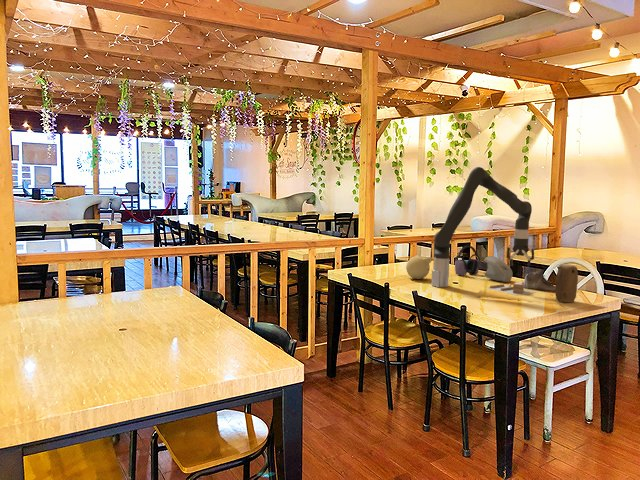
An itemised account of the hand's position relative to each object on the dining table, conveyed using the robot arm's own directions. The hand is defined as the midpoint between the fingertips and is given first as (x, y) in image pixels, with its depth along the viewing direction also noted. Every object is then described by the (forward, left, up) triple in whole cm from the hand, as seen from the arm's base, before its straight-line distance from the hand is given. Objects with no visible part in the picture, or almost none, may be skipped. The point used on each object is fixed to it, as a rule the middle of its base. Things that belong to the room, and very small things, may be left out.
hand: (519, 266), depth 292 cm
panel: (0, +6, -16) cm, 17 cm away
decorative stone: (+24, +34, -16) cm, 45 cm away
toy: (-19, +62, -16) cm, 67 cm away
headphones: (+21, +58, -16) cm, 64 cm away
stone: (+8, -24, -16) cm, 30 cm away
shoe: (+19, -4, -16) cm, 25 cm away
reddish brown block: (0, 0, -15) cm, 15 cm away
